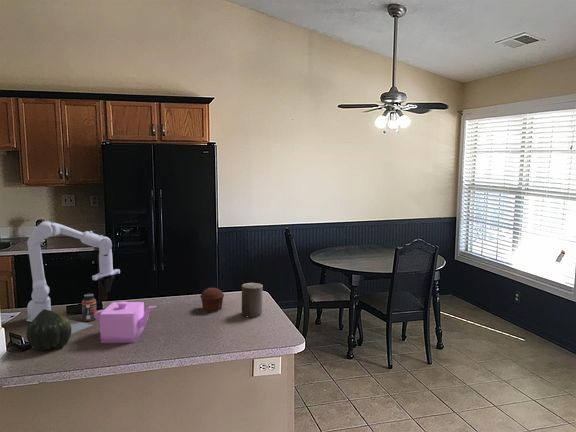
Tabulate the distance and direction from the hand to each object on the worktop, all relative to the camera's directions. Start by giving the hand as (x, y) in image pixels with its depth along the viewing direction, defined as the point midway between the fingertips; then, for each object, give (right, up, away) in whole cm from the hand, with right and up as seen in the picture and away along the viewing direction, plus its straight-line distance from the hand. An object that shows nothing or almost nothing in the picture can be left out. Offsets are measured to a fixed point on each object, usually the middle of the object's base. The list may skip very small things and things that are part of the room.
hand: (107, 291), depth 210 cm
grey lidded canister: (+68, -10, -1) cm, 69 cm away
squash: (-7, -15, -38) cm, 41 cm away
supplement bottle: (-5, -11, -8) cm, 15 cm away
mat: (-10, -12, -19) cm, 25 cm away
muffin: (+48, -10, +7) cm, 49 cm away
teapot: (+19, -14, -27) cm, 35 cm away
